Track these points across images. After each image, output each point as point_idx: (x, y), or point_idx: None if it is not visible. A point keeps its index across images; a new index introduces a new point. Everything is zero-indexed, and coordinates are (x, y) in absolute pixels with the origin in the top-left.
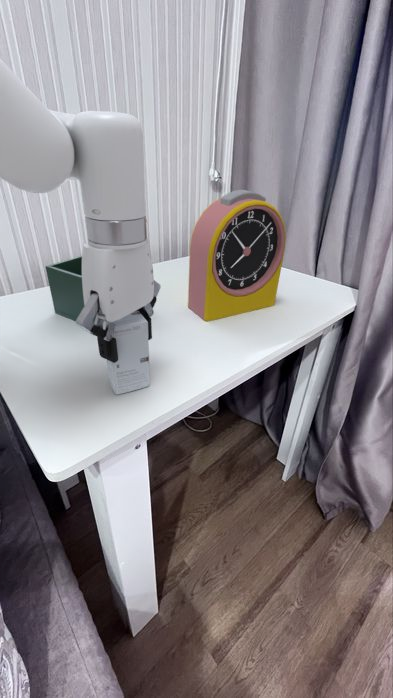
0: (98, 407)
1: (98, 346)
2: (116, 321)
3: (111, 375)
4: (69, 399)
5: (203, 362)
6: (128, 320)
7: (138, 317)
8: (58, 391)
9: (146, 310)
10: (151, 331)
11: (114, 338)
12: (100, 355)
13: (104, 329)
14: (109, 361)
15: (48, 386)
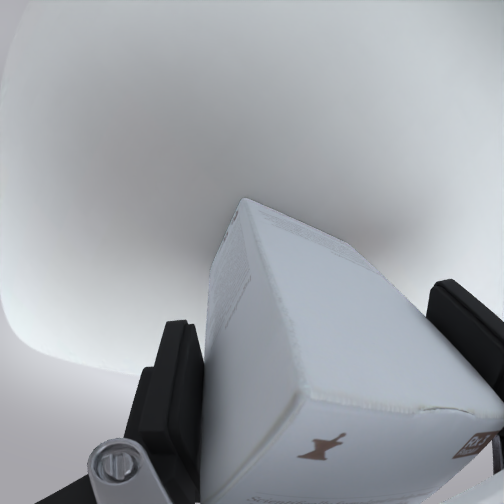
0: (142, 272)
1: (134, 401)
2: (313, 495)
3: (218, 272)
4: (97, 178)
5: None
6: (370, 502)
7: (430, 486)
8: (94, 117)
9: (493, 473)
10: None
11: (198, 500)
12: (168, 324)
13: (258, 362)
14: (220, 296)
15: (88, 72)
